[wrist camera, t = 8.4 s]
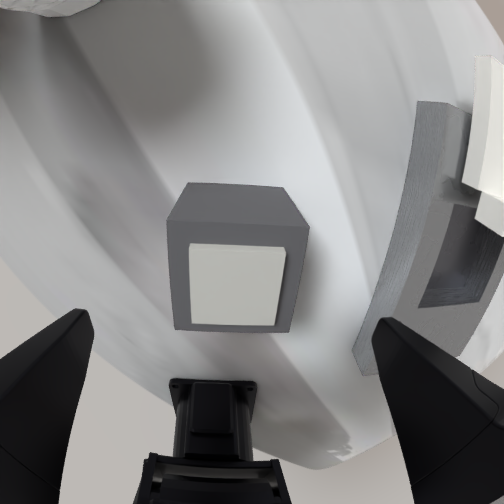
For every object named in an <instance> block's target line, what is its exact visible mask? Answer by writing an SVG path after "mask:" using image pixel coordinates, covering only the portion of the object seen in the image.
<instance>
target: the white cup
mask: <svg viewBox="0 0 504 504" xmlns="http://www.w3.org/2000/svg"><path fill="white" fill-rule="evenodd" d="M99 1H101V0H0V8H3V9H8V10H15V11H28V12H31V13H35V14H39V15H42V16H46V17H61V16H71V15H73V14H75V13H77V12H80V11H82V10H84V9H87V8H89V7H91V6H94V5H96V4H97V3H98V2H99Z"/></svg>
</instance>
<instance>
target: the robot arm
mask: <svg viewBox="0 0 504 504" xmlns="http://www.w3.org/2000/svg"><path fill="white" fill-rule="evenodd" d="M93 340H94V329H93V326H92V323H91V319H90V316H89V313H88V311H87V310H85V309H78V308H75V309H73V310H72V311H70V312H68V313H67V314H65V315H64V316H62V317H61V318H59V319H58V320H56V321H55V322H53V323H52V324H50V325H49V326H47V327H46V328H44V329H43V330H41V331H40V332H38V333H37V334H35V335H34V336H32V337H31V338H30V339H28V340H27V341H25V342H24V343H22V344H21V345H19V346H18V347H17V348H15V349H14V350H12V351H11V352H10V353H8V354H7V355H5V356H4V357H2V358H1V359H0V504H58V503H59V495H60V491H59V490H60V487H61V480H62V473H63V467H64V462H65V457H66V452H67V447H68V443H69V438H70V434H71V429H72V425H73V421H74V417H75V413H76V409H77V406H78V402H79V398H80V395H81V391H82V388H83V385H84V381H85V377H86V373H87V368H88V363H89V358H90V353H91V348H92V344H93ZM371 343H372V348H373V352H374V356H375V360H376V364H377V368H378V373H379V377H380V381H381V384H382V388H383V391H384V394H385V397H386V400H387V403H388V406H389V409H390V412H391V415H392V419H393V422H394V425H395V429H396V432H397V435H398V439H399V442H400V446H401V449H402V453H403V457H404V460H405V464H406V469H407V472H408V476H409V481H410V484H411V490H412V494H413V499H414V504H504V389H503V388H501V387H499V386H498V385H496V384H494V383H492V382H491V381H489V380H487V379H486V378H485V377H483V376H482V375H480V374H479V373H477V372H476V371H474V370H471V368H470V367H468V366H467V365H465V364H464V363H462V362H461V361H459V360H458V359H456V358H455V357H453V356H452V355H450V354H449V353H447V352H446V351H444V350H443V349H441V348H439V347H438V346H436V345H435V344H433V343H432V342H430V341H429V340H427V339H426V338H424V337H423V336H421V335H420V334H418V333H417V332H415V331H413V330H412V329H410V328H409V327H407V326H406V325H404V324H403V323H401V322H400V321H398V320H396V319H395V318H393V317H382V318H380V319H379V320H378V323H377V325H376V327H375V330H374V332H373V334H372V338H371ZM169 389H170V393H171V397H172V402H173V406H174V410H175V414H176V427H175V436H174V448H173V457H170V456H163V455H158V454H157V453H151V452H150V453H149V458H148V459H144V464H143V472H142V478H141V481H140V485H139V487H138V490H137V493H136V496H135V499H134V502H133V504H292V503H291V500H290V496H289V493H288V490H287V486H286V483H285V479H284V476H283V473H282V469H281V466H280V462H279V459H271V460H270V461H253V450H252V439H251V427H250V423H251V420H252V414H253V408H254V403H255V397H256V391H257V386H256V383H255V382H253V381H208V380H189V379H171V380H170V382H169Z"/></svg>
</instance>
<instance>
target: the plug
mask: <svg viewBox="0 0 504 504" xmlns="http://www.w3.org/2000/svg"><path fill="white" fill-rule="evenodd" d="M309 229H310V227H309V225H308V224H307V222H306V221H305V219H304V218H303V216H302V215H301V213H300V212H299V210H298V209H297V207H296V206H295V204H294V203H293V201H292V200H291V198H290V197H289V195H288V194H287V192H286V191H285V189H284V188H283V187H270V186H256V185H239V184H218V183H187V185H186V187H185V188H184V190H183V192H182V194H181V195H180V197H179V199H178V201H177V202H176V204H175V206H174V208H173V210H172V211H171V213H170V215H169V217H168V219H167V244H168V261H169V276H170V288H171V299H172V310H173V319H174V328H175V330H187V331H207V332H240V333H289V330H290V325H291V321H292V316H293V312H294V307H295V302H296V297H297V292H298V287H299V282H300V277H301V272H302V267H303V262H304V257H305V251H306V246H307V240H308V234H309Z"/></svg>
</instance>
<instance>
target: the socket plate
mask: <svg viewBox="0 0 504 504" xmlns="http://www.w3.org/2000/svg"><path fill="white" fill-rule="evenodd" d="M471 123H472V115H471V114H469V113H467V112H465V111H463V110H461V109H459V108H457V107H455V106H453V105H451V104H448V103H442V102H428V101H418V104H417V113H416V121H415V129H414V136H413V143H412V149H411V155H410V161H409V166H408V171H407V176H406V181H405V186H404V191H403V195H402V200H401V204H400V208H399V212H398V216H397V220H396V224H395V228H394V232H393V235H392V239H391V242H390V246H389V249H388V253H387V256H386V259H385V263H384V266H383V269H382V272H381V275H380V278H379V281H378V284H377V287H376V290H375V293H374V296H373V298H372V301H371V304H370V307H369V309H368V312H367V315H366V317H365V320H364V322H363V325H362V328H361V330H360V333H359V335H358V337H357V340H356V342H355V345H354V347H353V349H352V352H353V354H354V357H355V359H356V361H357V363H358V366H359V368H360V370H361V373H362V375H363V376H366V375H373V374H379V373H378V368H377V364H376V360H375V356H374V352H373V348H372V343H371V338H372V334H373V332H374V330H375V327H376V325H377V323H378V320H379V319H380V318H382V317H393V318H395V319H396V320H398V321H400V322H401V323H403V324H404V325H406V326H407V327H409V328H410V329H412V330H413V331H415V332H417V333H418V334H420V335H421V336H423V337H424V338H426V339H427V340H429V341H430V342H432V343H433V344H435V345H436V346H438V347H439V348H441V349H443V350H444V351H446V352H447V353H449V354H450V355H452V356H453V357H458V356H460V354H461V353H462V351H463V350H464V348H465V346H466V345H467V343H468V341H469V340H470V338H471V336H472V335H473V333H474V331H475V330H476V328H477V326H478V324H479V323H480V321H481V319H482V317H483V315H484V313H485V311H486V309H487V308H488V306H489V304H490V302H491V300H492V298H493V295H494V293H495V291H496V289H497V287H498V285H499V283H500V280H501V278H502V276H503V273H504V237H501V236H500V235H499V234H497V233H496V232H494V231H493V230H491V229H490V228H488V227H487V226H485V225H484V224H482V223H481V222H479V221H477V220H476V219H475V215H476V212H477V208H478V204H479V201H480V197H481V193H482V191H480V190H477V189H475V188H473V187H471V186H469V185H467V184H464V183H462V178H463V173H464V168H465V163H466V157H467V152H468V145H469V139H470V131H471Z"/></svg>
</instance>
